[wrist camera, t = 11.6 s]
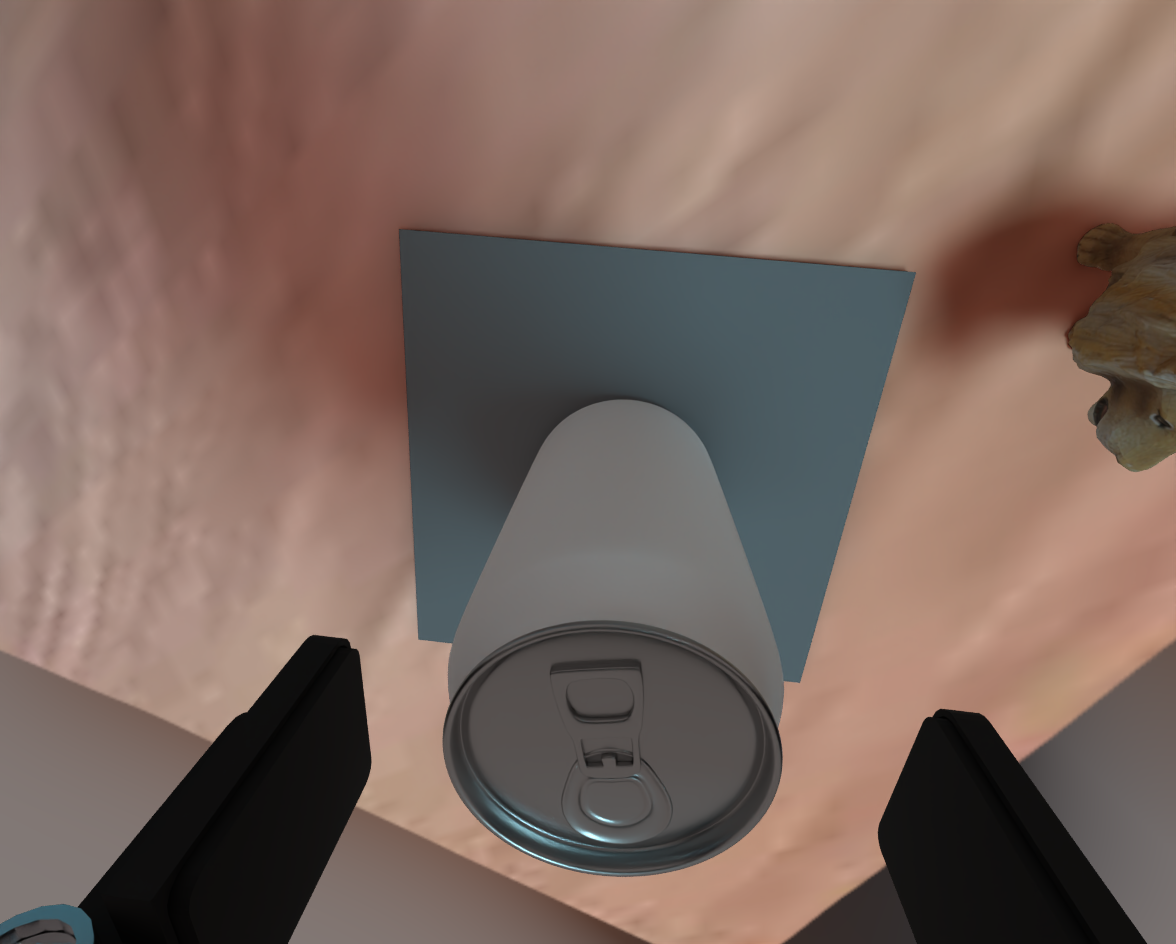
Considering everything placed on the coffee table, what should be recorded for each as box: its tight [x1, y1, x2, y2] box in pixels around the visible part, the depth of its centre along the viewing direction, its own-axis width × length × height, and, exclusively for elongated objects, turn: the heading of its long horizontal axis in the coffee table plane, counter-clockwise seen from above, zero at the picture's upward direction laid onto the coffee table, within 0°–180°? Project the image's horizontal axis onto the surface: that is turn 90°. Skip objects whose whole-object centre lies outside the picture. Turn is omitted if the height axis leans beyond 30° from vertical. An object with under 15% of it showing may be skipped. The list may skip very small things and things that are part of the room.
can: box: [443, 399, 784, 877], centre depth 15 cm, size 6×6×12 cm
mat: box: [399, 229, 916, 683], centre depth 21 cm, size 16×16×1 cm
